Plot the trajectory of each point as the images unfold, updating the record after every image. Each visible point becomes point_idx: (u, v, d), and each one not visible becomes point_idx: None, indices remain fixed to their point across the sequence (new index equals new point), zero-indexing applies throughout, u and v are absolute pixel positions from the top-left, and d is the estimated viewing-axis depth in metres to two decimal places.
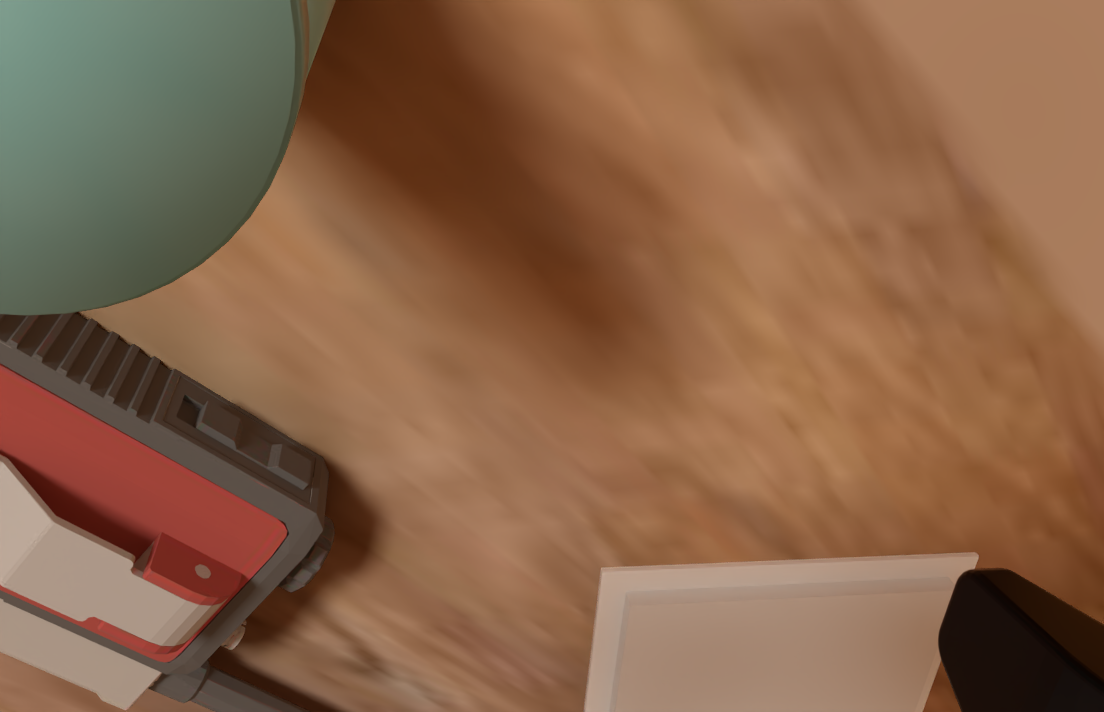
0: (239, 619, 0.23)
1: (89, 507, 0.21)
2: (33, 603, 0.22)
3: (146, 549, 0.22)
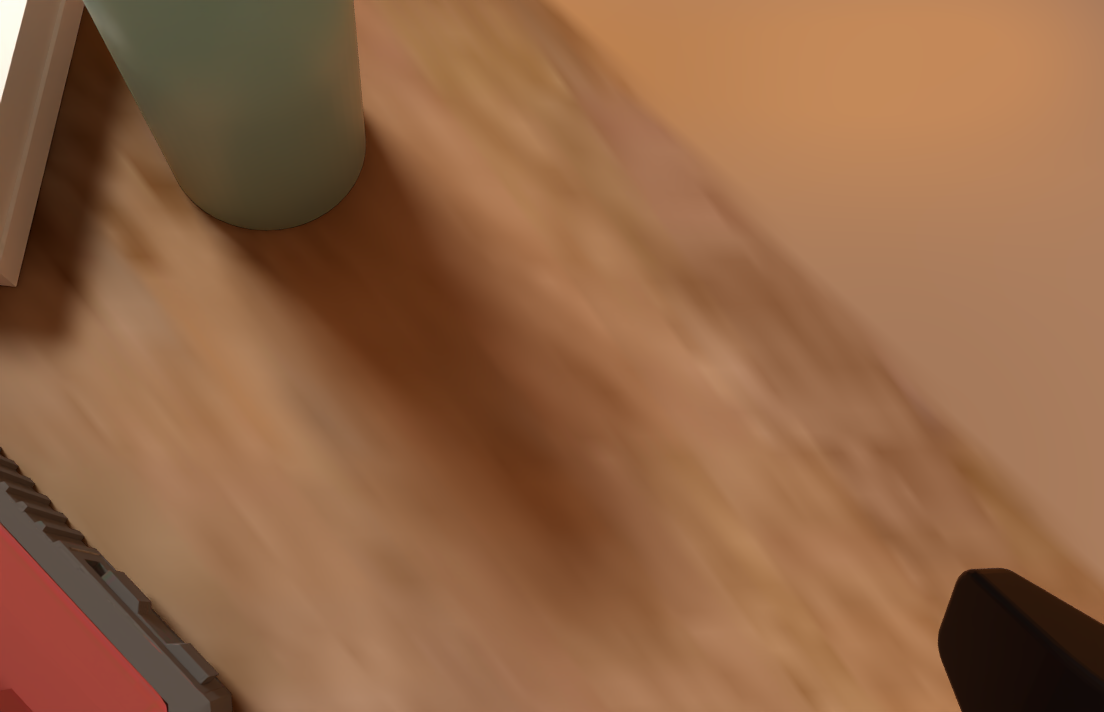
0: None
1: None
2: None
3: None
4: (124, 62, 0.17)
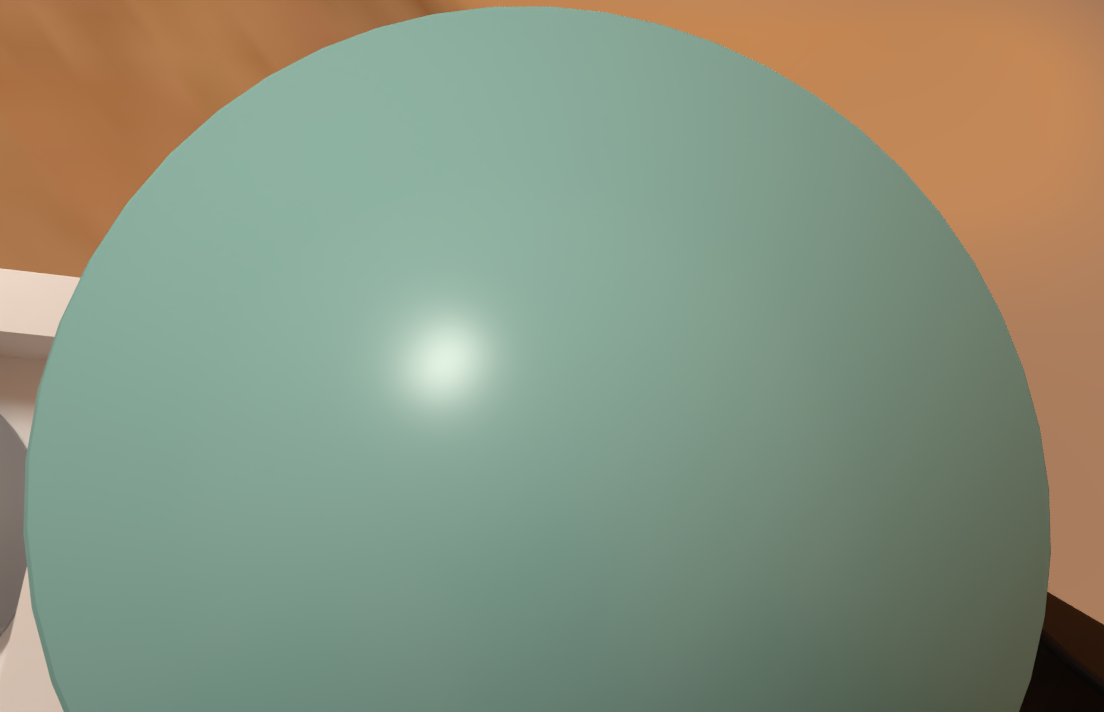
0: None
1: None
2: None
3: None
4: None
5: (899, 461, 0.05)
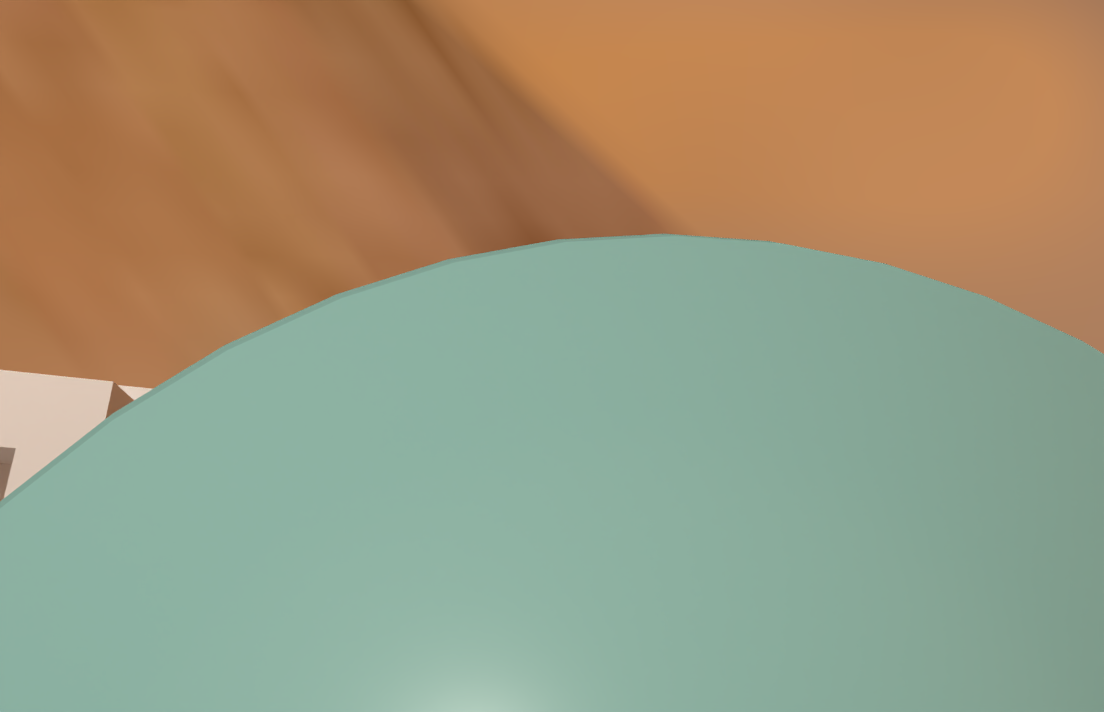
0: None
1: None
2: None
3: None
4: None
5: None
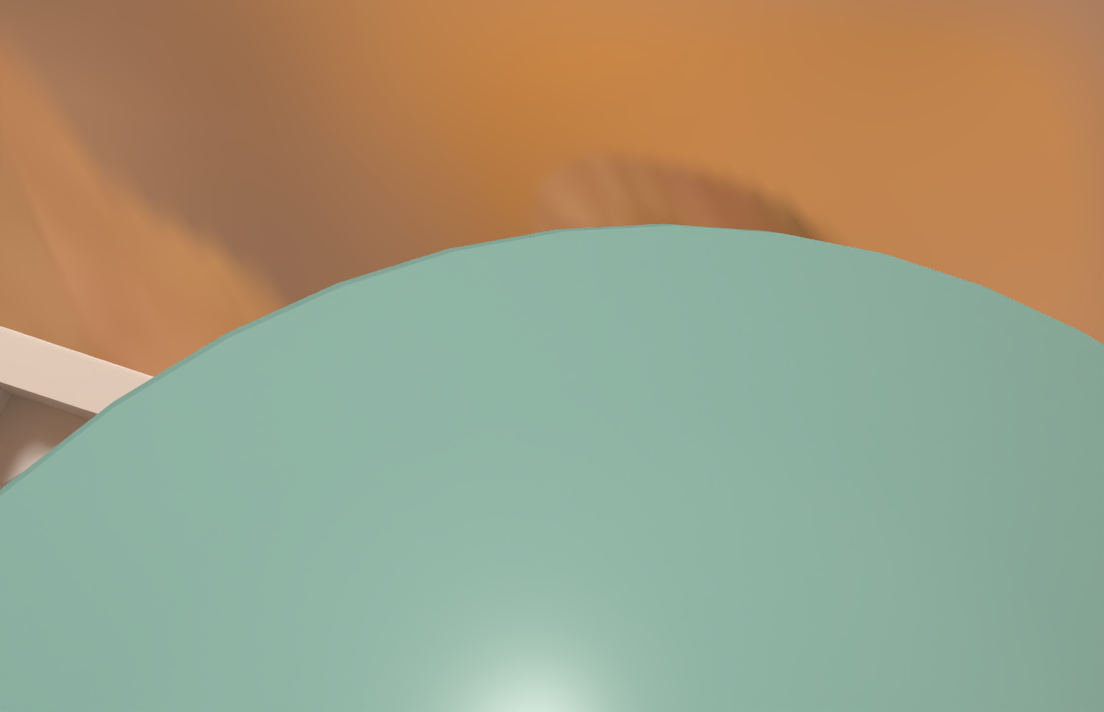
0: None
1: None
2: None
3: None
4: None
5: None
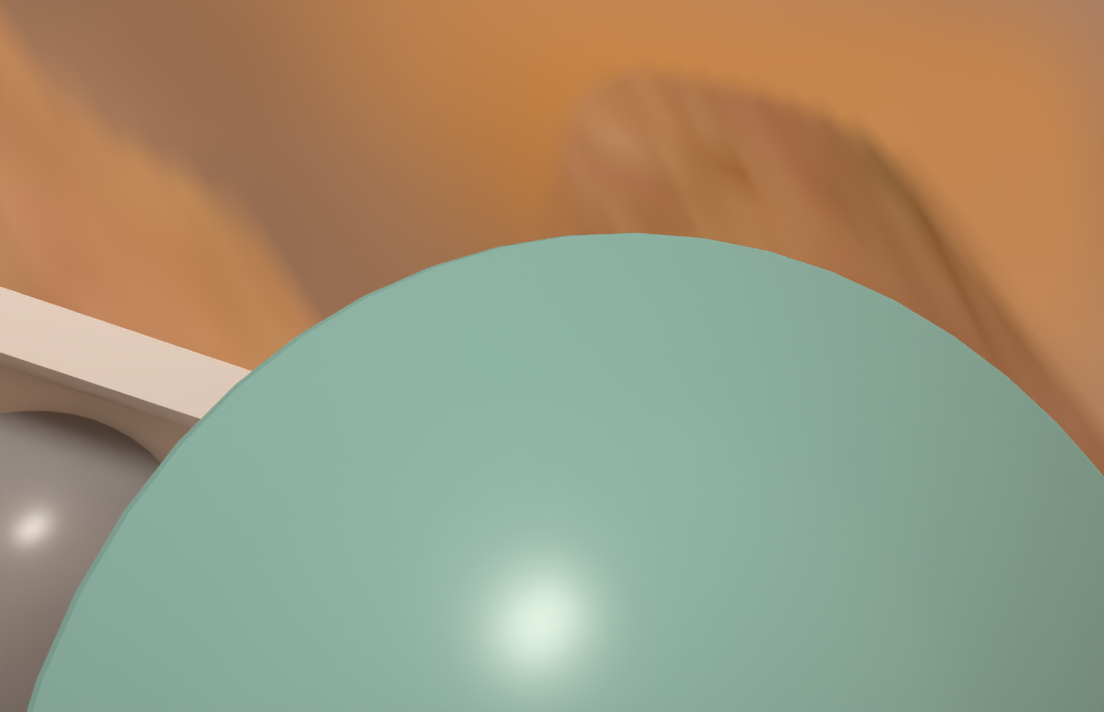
0: None
1: None
2: None
3: None
4: None
5: None
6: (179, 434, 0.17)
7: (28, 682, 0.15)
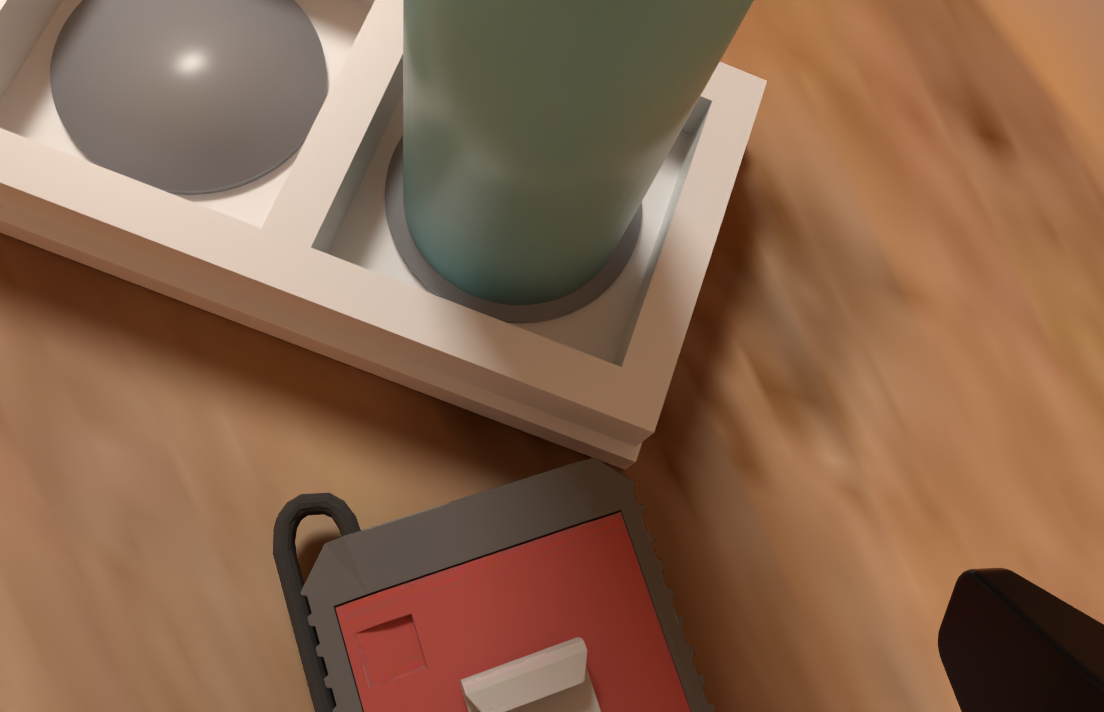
0: None
1: None
2: None
3: None
4: (452, 122, 0.14)
5: None
6: None
7: (201, 137, 0.20)
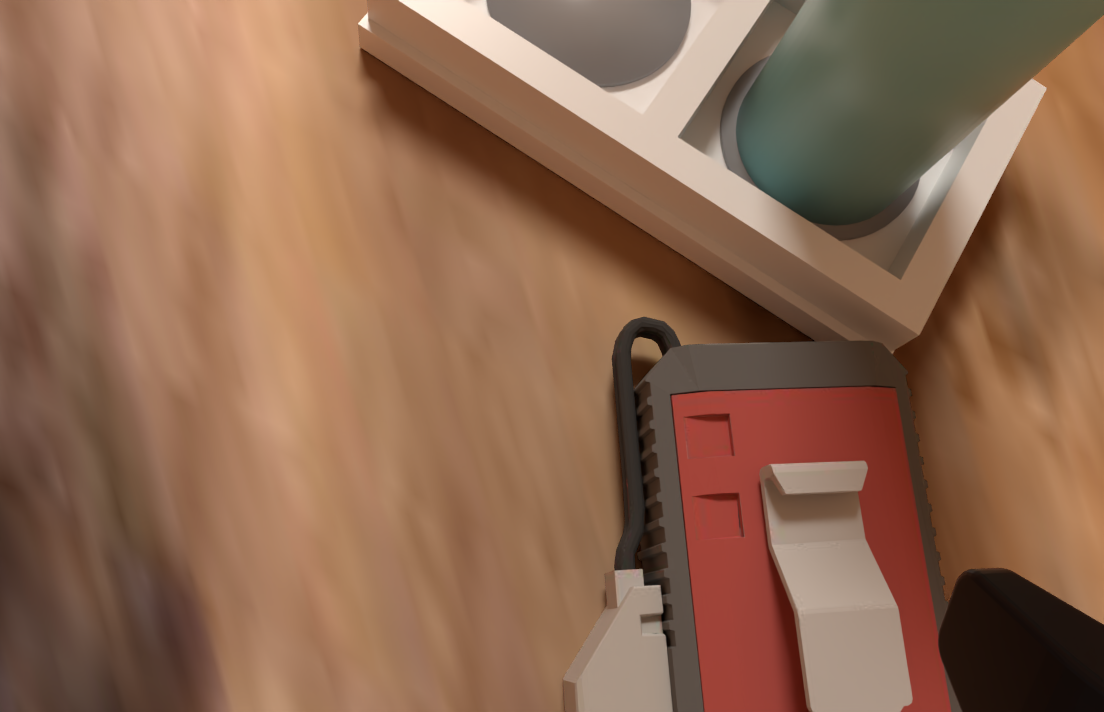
0: None
1: None
2: (705, 672, 0.20)
3: None
4: (865, 42, 0.19)
5: None
6: None
7: (591, 43, 0.25)
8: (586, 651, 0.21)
